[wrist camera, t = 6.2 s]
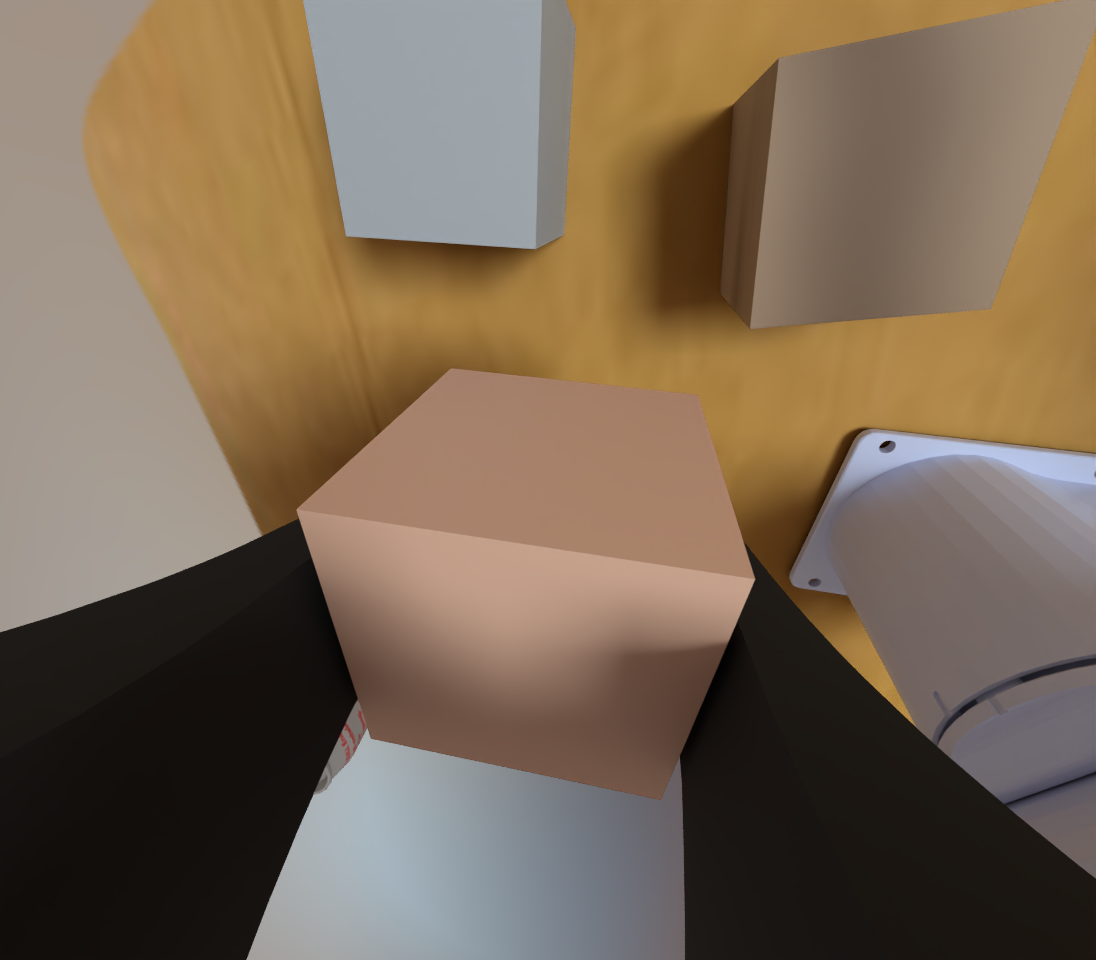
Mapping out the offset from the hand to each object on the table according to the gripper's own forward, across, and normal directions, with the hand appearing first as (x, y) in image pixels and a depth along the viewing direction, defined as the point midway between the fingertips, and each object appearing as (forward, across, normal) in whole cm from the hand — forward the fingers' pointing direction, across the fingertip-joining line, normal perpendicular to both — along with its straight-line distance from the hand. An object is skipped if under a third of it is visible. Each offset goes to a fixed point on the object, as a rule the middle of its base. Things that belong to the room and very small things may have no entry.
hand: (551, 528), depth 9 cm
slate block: (+10, +4, -7) cm, 13 cm away
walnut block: (+10, -6, -6) cm, 13 cm away
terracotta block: (+2, 0, 0) cm, 2 cm away
